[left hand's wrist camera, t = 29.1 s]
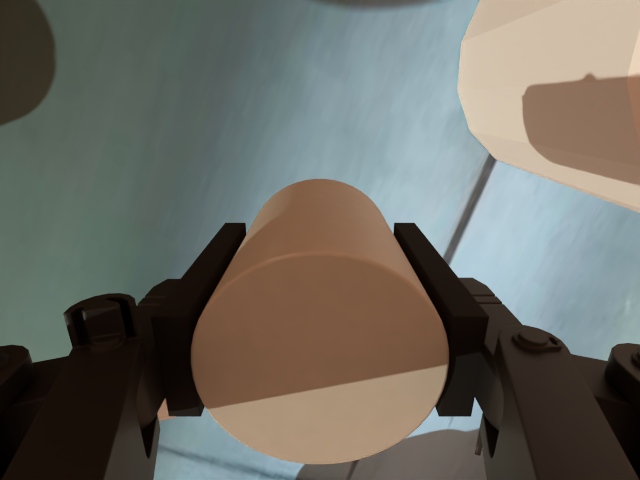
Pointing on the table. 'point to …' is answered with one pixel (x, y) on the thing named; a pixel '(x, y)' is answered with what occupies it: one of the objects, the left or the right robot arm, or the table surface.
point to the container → (558, 91)
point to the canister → (319, 332)
